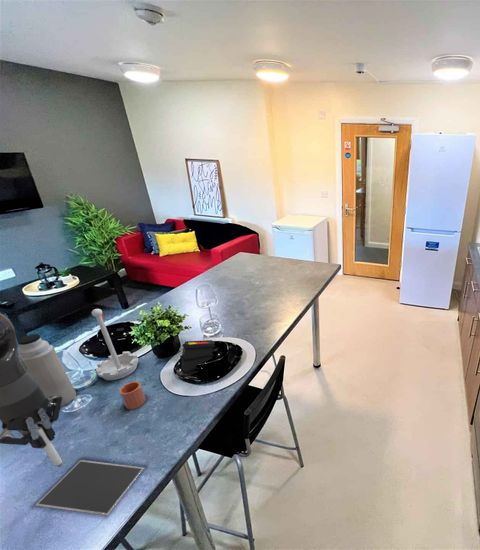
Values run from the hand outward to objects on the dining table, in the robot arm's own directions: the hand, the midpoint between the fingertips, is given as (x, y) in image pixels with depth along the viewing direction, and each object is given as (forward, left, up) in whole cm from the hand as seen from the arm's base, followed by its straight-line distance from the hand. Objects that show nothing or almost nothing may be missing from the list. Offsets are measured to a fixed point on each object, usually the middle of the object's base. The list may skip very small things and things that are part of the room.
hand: (45, 442), depth 73 cm
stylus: (0, 0, -9) cm, 9 cm away
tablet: (0, -7, -17) cm, 18 cm away
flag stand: (+41, +23, -17) cm, 50 cm away
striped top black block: (+47, -8, -17) cm, 51 cm away
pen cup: (+27, +4, -17) cm, 32 cm away
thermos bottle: (+25, +31, -17) cm, 43 cm away
